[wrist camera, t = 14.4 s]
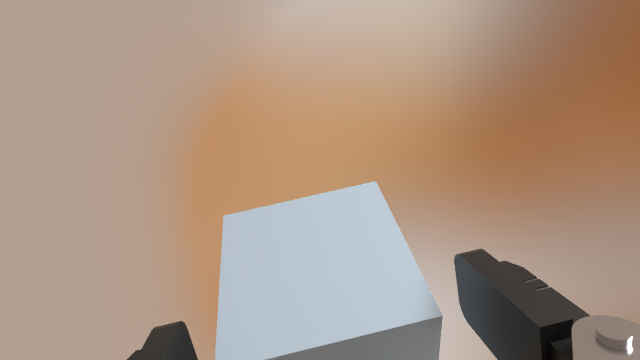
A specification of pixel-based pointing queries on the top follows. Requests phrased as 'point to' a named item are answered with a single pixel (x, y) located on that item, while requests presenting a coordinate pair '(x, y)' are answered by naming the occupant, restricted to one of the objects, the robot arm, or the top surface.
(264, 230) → the hammer
